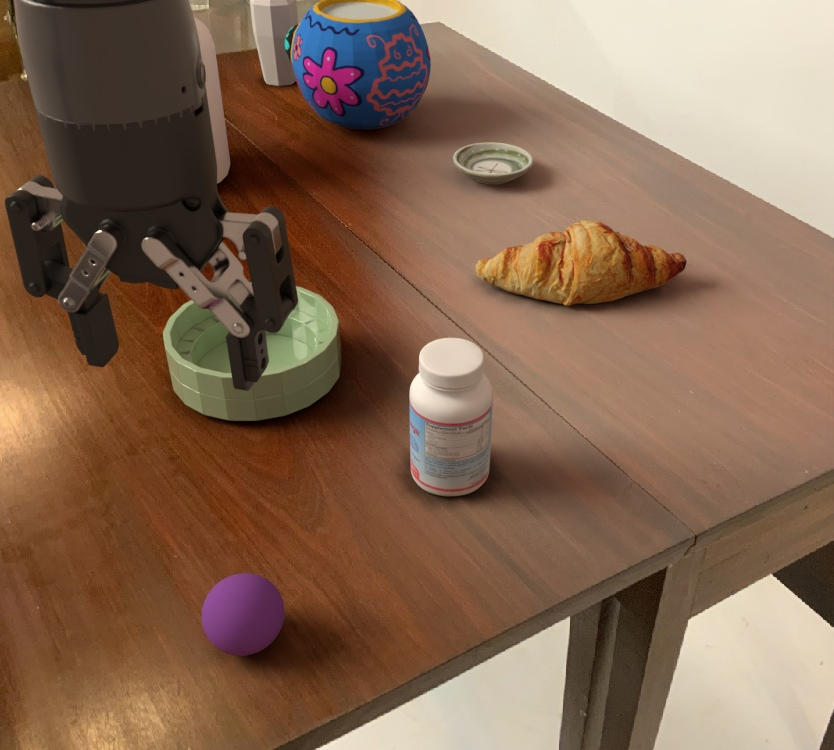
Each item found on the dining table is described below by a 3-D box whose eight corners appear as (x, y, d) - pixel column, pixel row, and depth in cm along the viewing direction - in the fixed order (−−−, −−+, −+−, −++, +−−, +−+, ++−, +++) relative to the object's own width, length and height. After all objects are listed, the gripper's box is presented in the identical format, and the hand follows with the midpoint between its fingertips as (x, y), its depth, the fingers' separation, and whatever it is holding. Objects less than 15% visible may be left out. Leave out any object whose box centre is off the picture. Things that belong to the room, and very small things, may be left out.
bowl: (181, 441, 77) (171, 391, 74) (166, 342, 87) (156, 295, 84) (357, 408, 81) (355, 359, 78) (322, 318, 92) (319, 272, 89)
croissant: (477, 329, 97) (481, 289, 90) (470, 244, 101) (473, 199, 94) (684, 321, 99) (704, 280, 92) (669, 237, 103) (687, 193, 96)
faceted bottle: (304, 72, 143) (292, -90, 130) (300, 88, 138) (286, -79, 125) (261, 71, 143) (243, -91, 130) (255, 87, 138) (236, -81, 125)
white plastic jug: (228, 148, 121) (205, -19, 109) (234, 193, 111) (210, 15, 99) (122, 156, 118) (87, -15, 106) (119, 203, 108) (80, 20, 96)
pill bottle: (419, 443, 78) (417, 326, 71) (494, 452, 77) (500, 336, 71) (402, 495, 73) (399, 375, 66) (482, 505, 73) (487, 385, 66)
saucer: (534, 162, 121) (536, 144, 120) (529, 196, 114) (530, 177, 112) (458, 156, 122) (458, 137, 121) (447, 190, 114) (447, 171, 113)
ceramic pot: (372, 87, 139) (367, -22, 130) (457, 125, 130) (459, 10, 121) (270, 118, 129) (258, 2, 120) (355, 161, 120) (348, 38, 111)
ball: (212, 681, 59) (200, 629, 56) (203, 619, 63) (191, 567, 60) (294, 660, 61) (287, 608, 58) (280, 600, 65) (273, 548, 62)
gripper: (-75, 98, 42) (20, 391, 52) (233, 135, 41) (272, 432, 50) (25, 44, 48) (93, 316, 58) (297, 75, 47) (321, 350, 56)
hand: (176, 370), depth 54 cm, fingers open, 8 cm apart
